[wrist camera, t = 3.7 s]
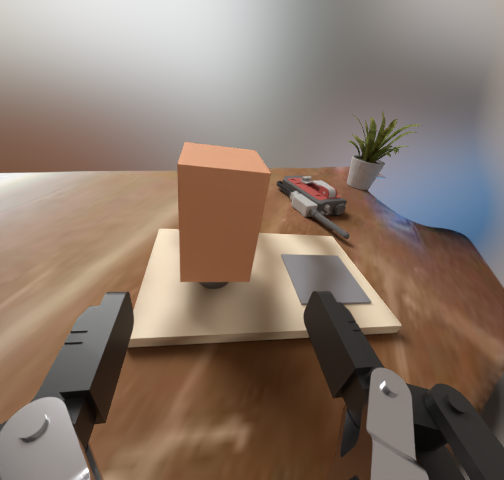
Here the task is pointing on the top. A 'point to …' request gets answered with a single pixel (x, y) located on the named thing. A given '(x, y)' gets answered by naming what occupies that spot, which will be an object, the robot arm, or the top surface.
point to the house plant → (371, 155)
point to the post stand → (252, 294)
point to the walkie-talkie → (314, 199)
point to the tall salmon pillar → (219, 211)
